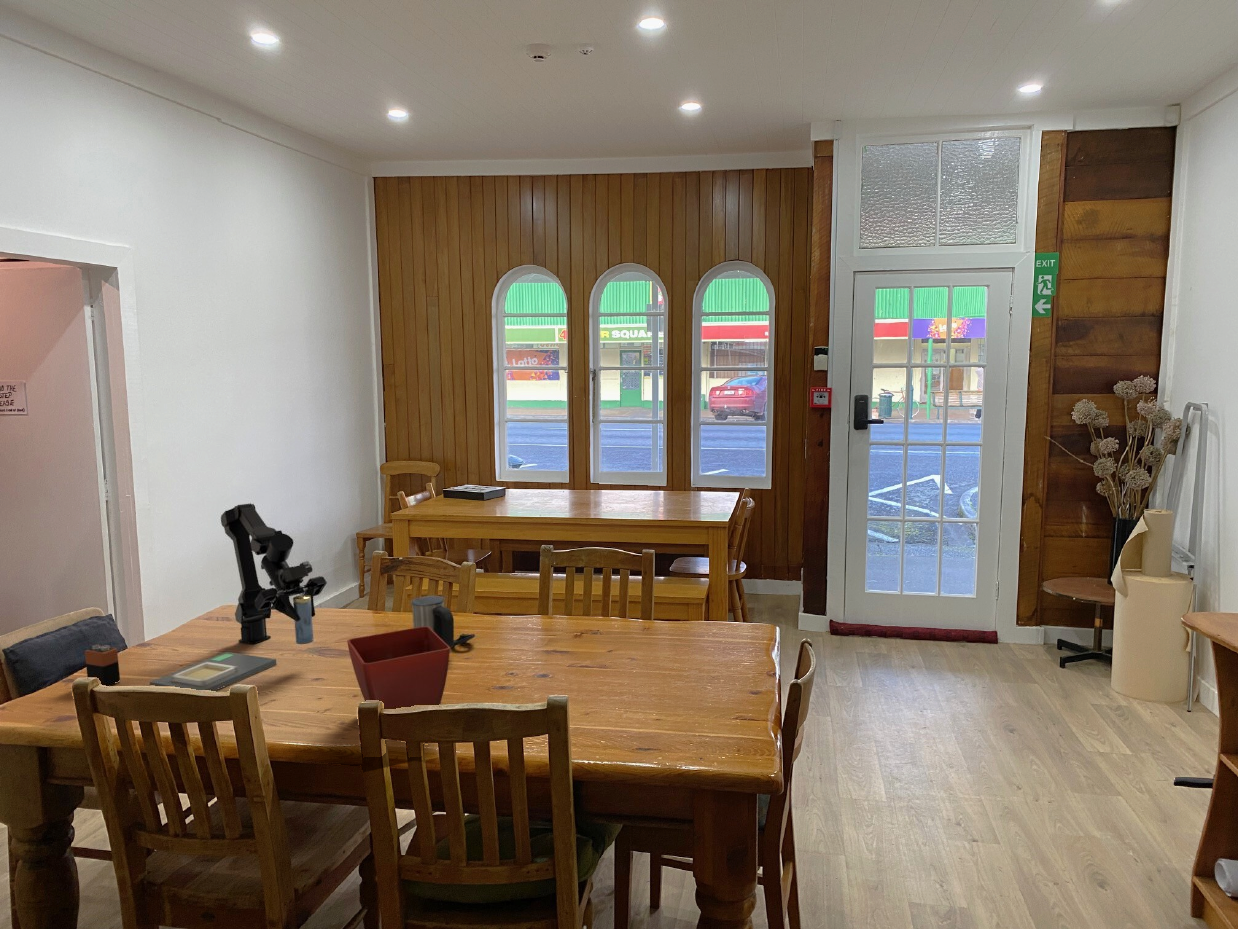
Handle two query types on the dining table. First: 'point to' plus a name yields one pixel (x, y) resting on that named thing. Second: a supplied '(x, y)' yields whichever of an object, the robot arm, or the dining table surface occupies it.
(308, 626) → the cell
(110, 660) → the battery
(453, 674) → the dining table surface
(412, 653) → the plant pot
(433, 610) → the milk frother
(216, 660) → the tester board
